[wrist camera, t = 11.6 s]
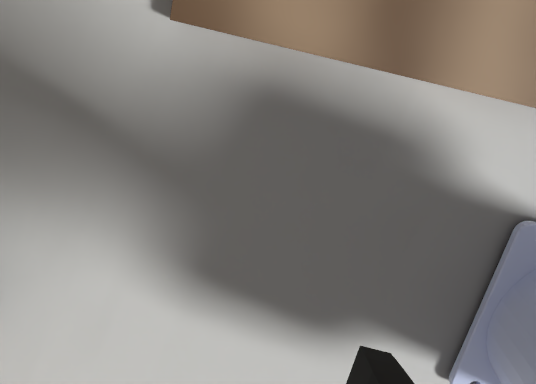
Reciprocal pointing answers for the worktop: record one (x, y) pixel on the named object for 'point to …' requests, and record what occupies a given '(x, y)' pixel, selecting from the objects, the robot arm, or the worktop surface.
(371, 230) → the worktop surface
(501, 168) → the worktop surface
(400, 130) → the worktop surface
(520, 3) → the post board
